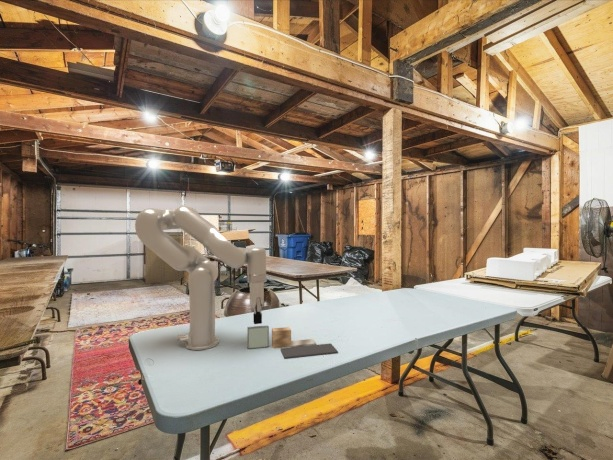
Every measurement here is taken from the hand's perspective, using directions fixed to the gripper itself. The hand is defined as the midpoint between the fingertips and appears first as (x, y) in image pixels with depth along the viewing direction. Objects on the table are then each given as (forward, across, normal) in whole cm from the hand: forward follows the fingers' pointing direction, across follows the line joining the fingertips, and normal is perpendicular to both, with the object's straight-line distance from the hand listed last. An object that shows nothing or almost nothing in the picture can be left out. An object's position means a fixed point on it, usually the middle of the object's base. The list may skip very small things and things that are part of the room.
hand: (257, 323), depth 123 cm
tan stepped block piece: (+8, +7, +13) cm, 17 cm away
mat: (+8, +15, +17) cm, 24 cm away
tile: (+7, +6, -1) cm, 10 cm away
